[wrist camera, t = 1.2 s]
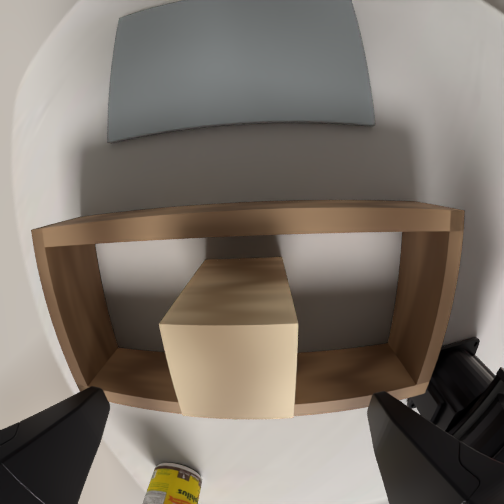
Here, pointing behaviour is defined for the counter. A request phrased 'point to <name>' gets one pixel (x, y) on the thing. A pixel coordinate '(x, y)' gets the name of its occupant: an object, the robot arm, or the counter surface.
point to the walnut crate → (248, 224)
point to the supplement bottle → (173, 485)
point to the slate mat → (237, 66)
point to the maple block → (234, 341)
